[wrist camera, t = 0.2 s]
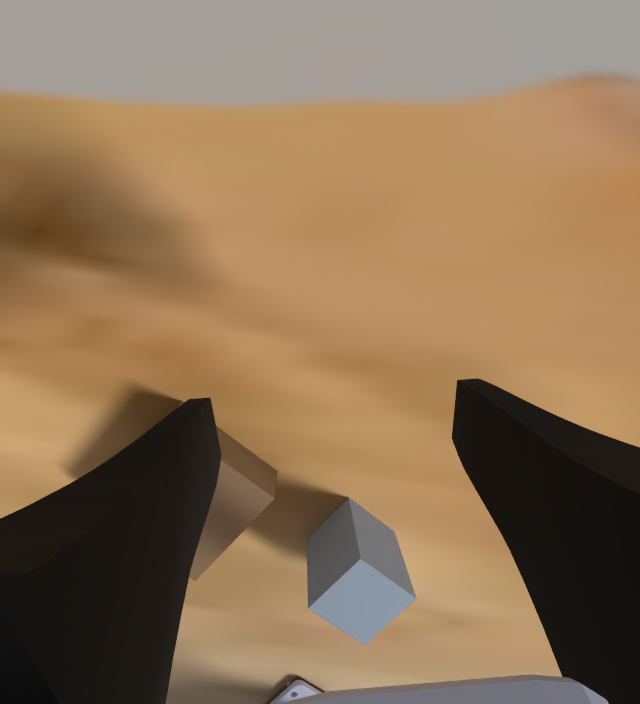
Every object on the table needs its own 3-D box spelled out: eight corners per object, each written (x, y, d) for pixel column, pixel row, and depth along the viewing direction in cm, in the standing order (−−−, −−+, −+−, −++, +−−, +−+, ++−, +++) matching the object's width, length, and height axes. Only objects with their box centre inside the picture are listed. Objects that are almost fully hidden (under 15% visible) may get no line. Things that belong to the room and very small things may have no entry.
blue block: (352, 570, 26) (364, 645, 21) (306, 538, 25) (308, 608, 20) (394, 531, 25) (416, 598, 21) (348, 497, 25) (360, 558, 20)
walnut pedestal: (207, 542, 25) (195, 580, 22) (113, 480, 24) (87, 513, 21) (277, 467, 24) (274, 498, 21) (183, 398, 23) (166, 421, 20)
